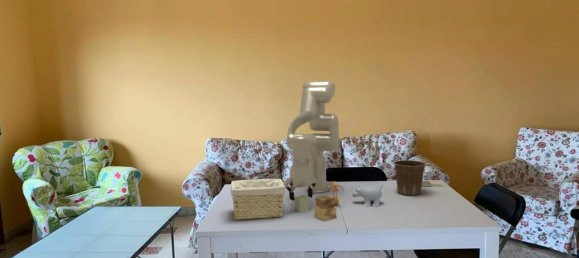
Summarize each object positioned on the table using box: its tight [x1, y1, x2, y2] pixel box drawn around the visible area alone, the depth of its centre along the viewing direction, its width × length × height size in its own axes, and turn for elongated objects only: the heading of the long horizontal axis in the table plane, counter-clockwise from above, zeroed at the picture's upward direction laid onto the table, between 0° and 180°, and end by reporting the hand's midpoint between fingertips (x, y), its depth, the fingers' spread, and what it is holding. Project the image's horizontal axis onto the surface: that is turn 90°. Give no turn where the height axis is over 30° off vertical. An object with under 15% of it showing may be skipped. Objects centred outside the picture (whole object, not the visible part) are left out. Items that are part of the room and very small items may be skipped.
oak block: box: [314, 204, 337, 221], centre depth 173 cm, size 7×7×5 cm
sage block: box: [293, 195, 310, 213], centre depth 183 cm, size 5×5×6 cm
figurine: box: [327, 181, 345, 206], centre depth 188 cm, size 8×6×12 cm
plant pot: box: [393, 159, 427, 197], centre depth 205 cm, size 16×16×16 cm
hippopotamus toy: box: [352, 183, 385, 207], centre depth 190 cm, size 11×15×10 cm
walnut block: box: [315, 194, 336, 209], centre depth 172 cm, size 6×6×4 cm
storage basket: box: [230, 178, 286, 221], centre depth 178 cm, size 24×16×15 cm
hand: (301, 198), depth 182 cm, fingers open, 9 cm apart
